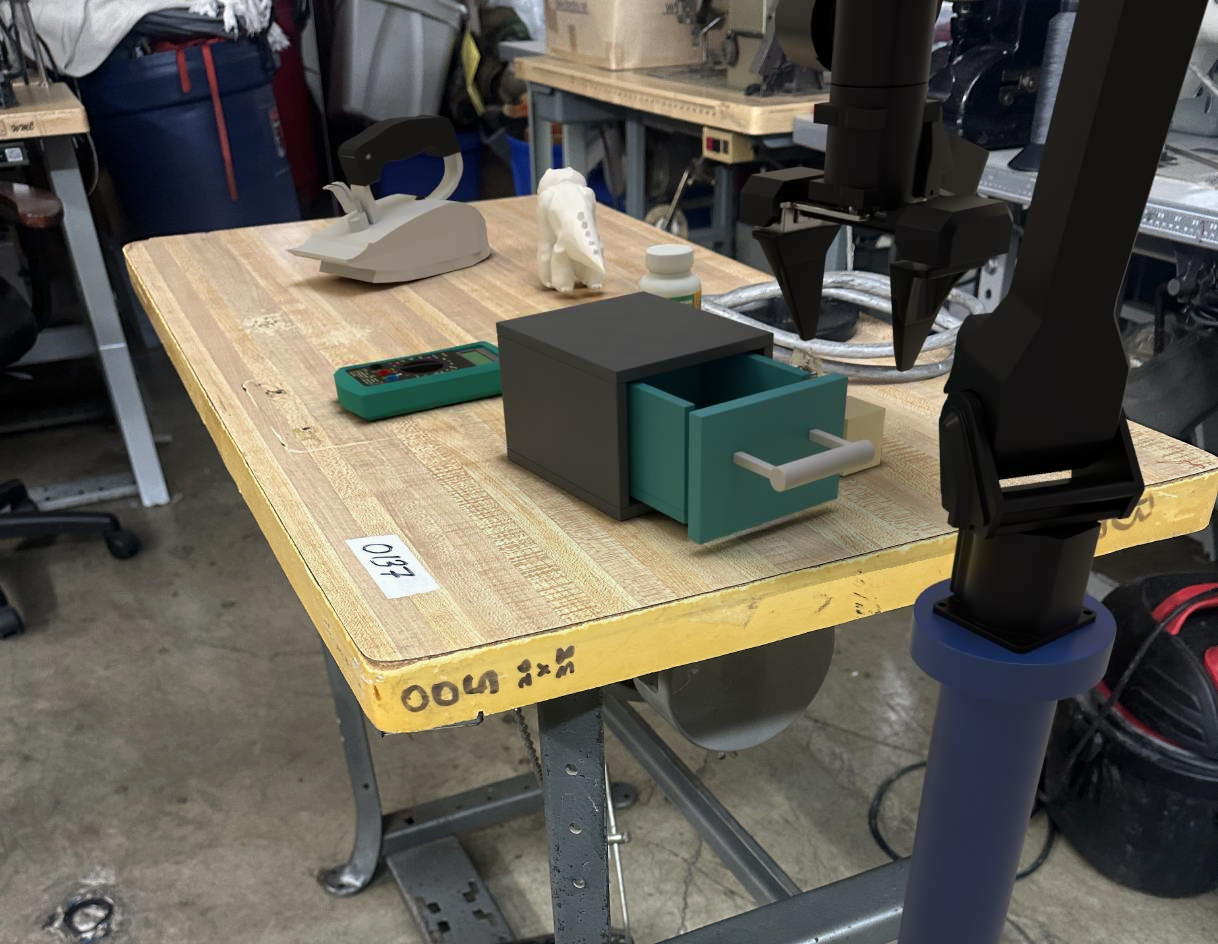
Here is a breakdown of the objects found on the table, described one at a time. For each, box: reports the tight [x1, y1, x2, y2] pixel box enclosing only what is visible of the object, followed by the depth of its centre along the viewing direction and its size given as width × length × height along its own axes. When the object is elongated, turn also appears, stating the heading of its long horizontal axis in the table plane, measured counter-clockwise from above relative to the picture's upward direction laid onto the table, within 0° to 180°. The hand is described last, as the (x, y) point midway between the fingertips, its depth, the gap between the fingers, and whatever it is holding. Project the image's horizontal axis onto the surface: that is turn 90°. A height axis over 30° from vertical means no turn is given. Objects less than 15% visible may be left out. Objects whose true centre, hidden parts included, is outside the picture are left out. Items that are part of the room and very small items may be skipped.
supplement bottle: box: [637, 243, 703, 310], centre depth 99 cm, size 5×5×10 cm
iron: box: [285, 114, 492, 284], centre depth 130 cm, size 11×24×15 cm, turn 139°
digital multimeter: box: [333, 340, 502, 422], centre depth 97 cm, size 7×15×3 cm, turn 119°
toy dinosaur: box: [535, 166, 607, 294], centre depth 120 cm, size 7×24×11 cm, turn 15°
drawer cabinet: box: [495, 291, 775, 522], centre depth 81 cm, size 15×13×10 cm
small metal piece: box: [789, 346, 824, 379], centre depth 96 cm, size 6×2×3 cm, turn 22°
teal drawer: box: [626, 351, 875, 545], centre depth 74 cm, size 18×11×8 cm, turn 34°
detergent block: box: [840, 395, 887, 477], centre depth 82 cm, size 4×4×4 cm
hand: (854, 354), depth 78 cm, fingers open, 9 cm apart
